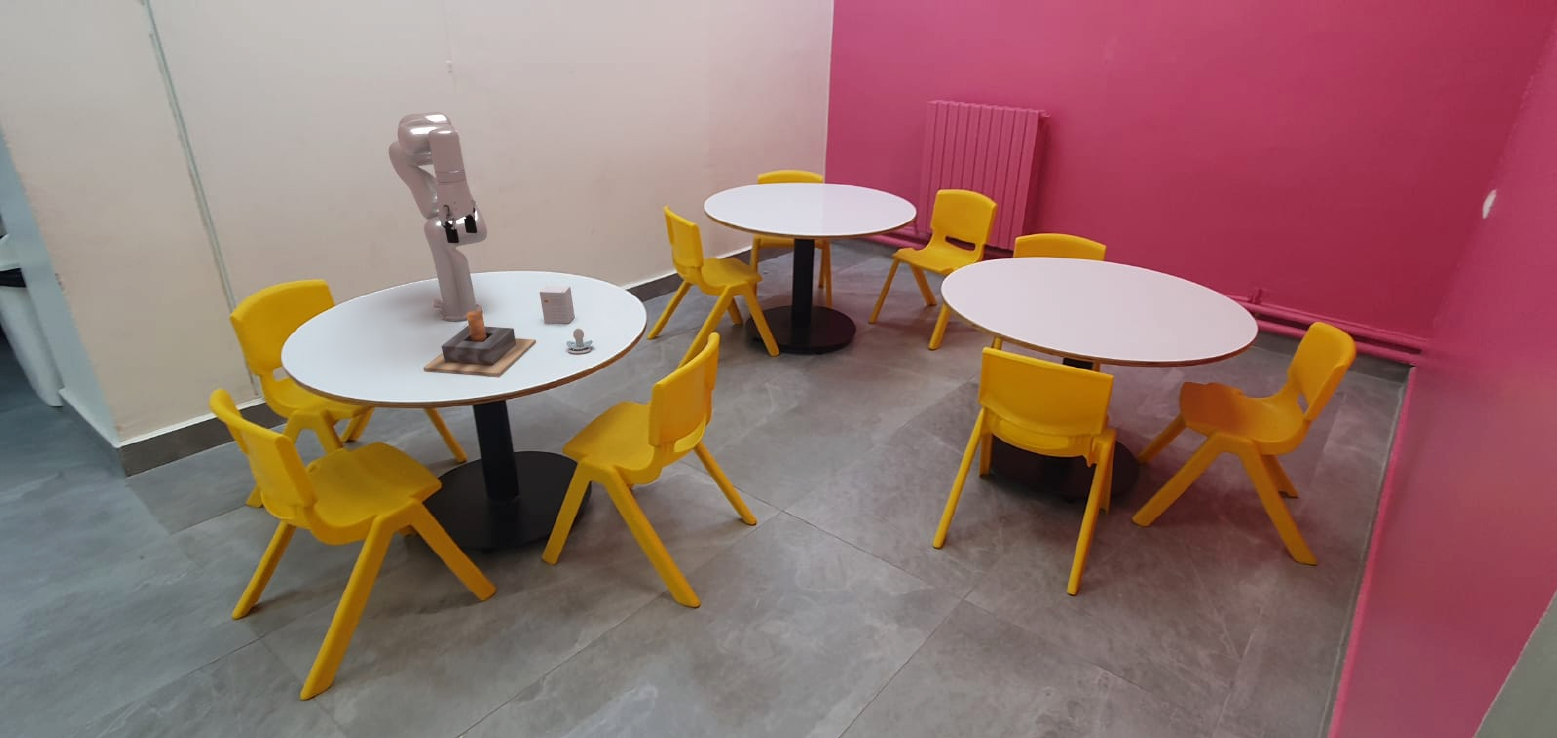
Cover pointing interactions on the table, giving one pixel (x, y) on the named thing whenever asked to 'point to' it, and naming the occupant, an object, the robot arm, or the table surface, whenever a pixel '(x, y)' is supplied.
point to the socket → (480, 353)
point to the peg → (476, 326)
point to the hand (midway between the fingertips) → (463, 237)
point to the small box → (557, 304)
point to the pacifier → (579, 343)
